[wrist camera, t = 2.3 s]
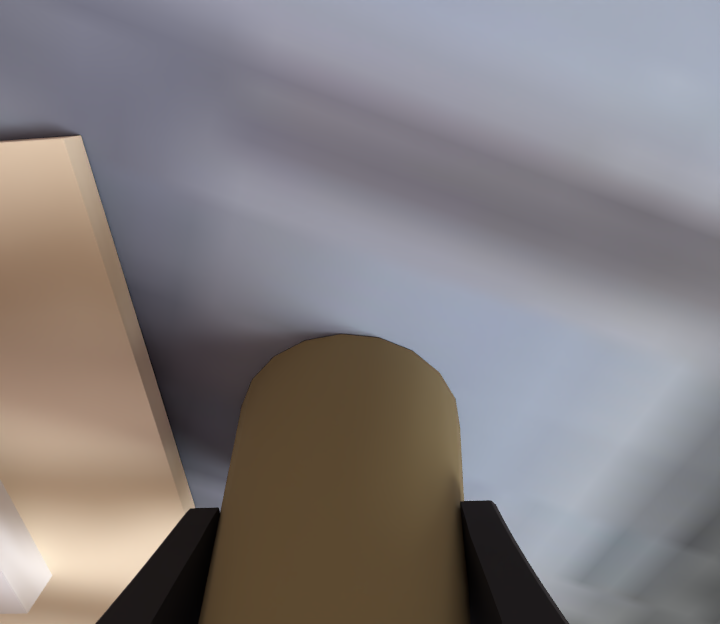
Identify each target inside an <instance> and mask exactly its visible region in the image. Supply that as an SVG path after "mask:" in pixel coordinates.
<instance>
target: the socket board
mask: <svg viewBox="0 0 720 624" xmlns="http://www.w3.org/2000/svg"><path fill="white" fill-rule="evenodd" d="M190 508H195V505H194V502H193V499H192V495H191V492H190V489H189V486H188V482H187V479H186V476H185V473H184V469H183V466H182V463H181V460H180V456H179V453H178V450H177V447H176V443H175V440H174V437H173V434H172V430H171V427H170V424H169V421H168V417H167V414H166V411H165V408H164V404H163V401H162V398H161V395H160V391H159V388H158V385H157V382H156V378H155V375H154V372H153V369H152V365H151V362H150V359H149V356H148V352H147V349H146V346H145V343H144V339H143V336H142V333H141V330H140V326H139V323H138V320H137V317H136V313H135V310H134V307H133V304H132V300H131V297H130V294H129V291H128V287H127V284H126V281H125V278H124V274H123V271H122V268H121V265H120V261H119V258H118V255H117V252H116V248H115V245H114V242H113V239H112V235H111V232H110V229H109V226H108V222H107V219H106V216H105V213H104V209H103V206H102V203H101V200H100V196H99V193H98V190H97V187H96V183H95V180H94V177H93V174H92V170H91V167H90V164H89V161H88V157H87V154H86V151H85V148H84V144H83V141H82V138H81V135H80V136H65V137H51V138H37V139H23V140H9V141H0V624H95V623H96V622H97V621H98V620H99V619H100V617H101V616H102V615H103V614H104V613H105V612H106V610H107V609H108V608H109V607H110V606H111V604H112V603H113V602H114V601H115V600H116V599H117V597H118V596H119V595H120V594H121V593H122V591H123V590H124V589H125V588H126V587H127V585H128V584H129V583H130V582H131V581H132V579H133V578H134V577H135V576H136V575H137V573H138V572H139V571H140V570H141V568H142V567H143V566H144V565H145V563H146V562H147V561H148V560H149V559H150V557H151V556H152V555H153V554H154V552H155V551H156V550H157V549H158V547H159V546H160V545H161V544H162V542H163V541H164V540H165V538H166V537H167V536H168V535H169V533H170V532H171V531H172V530H173V528H174V527H175V526H176V525H177V523H178V522H179V521H180V520H181V518H182V517H183V516H184V515H185V513H186V512H187V511H188V510H189V509H190Z"/></svg>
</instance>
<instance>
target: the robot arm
mask: <svg viewBox="0 0 720 624" xmlns="http://www.w3.org/2000/svg"><path fill="white" fill-rule="evenodd" d="M460 510H461V517H462V526H463V536H464V546H465V556H466V566H467V576H468V585H469V601H470V620H471V624H569V623H568V621H567V620H566V619H565V617H564V616H563V614H562V613H561V611H560V610H559V608H558V607H557V605H556V604H555V602H554V601H553V599H552V598H551V596H550V595H549V593H548V592H547V590H546V589H545V587H544V586H543V584H542V583H541V581H540V580H539V578H538V577H537V575H536V574H535V572H534V570H533V569H532V567H531V566H530V564H529V562H528V561H527V559H526V558H525V556H524V554H523V553H522V551H521V549H520V548H519V546H518V544H517V543H516V541H515V539H514V538H513V536H512V534H511V532H510V531H509V529H508V527H507V525H506V523H505V521H504V520H503V518H502V516H501V514H500V512H499V510H498V508H497V506H496V504H494V503H493V502H492V501H460ZM219 517H220V511H219V508H190V509H189V510H188V511H187V512H186V513H185V515H184V516H183V517H182V518H181V520H180V521H179V522H178V523H177V525H176V526H175V527H174V528H173V530H172V531H171V532H170V533H169V535H168V536H167V537H166V538H165V540H164V541H163V542H162V544H161V545H160V546H159V547H158V549H157V550H156V551H155V552H154V554H153V555H152V556H151V557H150V559H149V560H148V561H147V562H146V563H145V565H144V566H143V567H142V568H141V570H140V571H139V572H138V573H137V575H136V576H135V577H134V578H133V579H132V581H131V582H130V583H129V584H128V585H127V587H126V588H125V589H124V590H123V591H122V593H121V594H120V595H119V596H118V597H117V599H116V600H115V601H114V602H113V603H112V604H111V606H110V607H109V608H108V609H107V610H106V612H105V613H104V614H103V615H102V616H101V617H100V619H99V620H98V621H97V622H96V623H95V624H198V622H199V617H200V612H201V607H202V602H203V597H204V592H205V587H206V582H207V577H208V572H209V567H210V562H211V557H212V552H213V547H214V542H215V537H216V532H217V527H218V522H219Z"/></svg>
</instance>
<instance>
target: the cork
mask: <svg viewBox="0 0 720 624" xmlns="http://www.w3.org/2000/svg"><path fill="white" fill-rule="evenodd" d="M460 501H464V493H463V475H462V457H461V438H460V425H459V418H458V412H457V406H456V400H455V398H454V396H453V394H452V393H451V391H450V389H449V388H448V386H447V384H446V383H445V381H444V379H443V378H442V376H441V374H440V373H439V372H438V371H437V370H435V369H434V368H433V367H432V366H431V365H429V364H428V363H427V362H426V361H424V360H423V359H422V358H421V357H420V356H418V355H417V354H416V353H415V352H413V351H411V350H408V349H406V348H403V347H401V346H398V345H396V344H393V343H391V342H388V341H386V340H383V339H381V338H376V337H366V336H356V335H346V334H339V335H333V336H328V337H322V338H317V339H311V340H306V341H303V342H301V343H299V344H297V345H295V346H293V347H292V348H290V349H288V350H286V351H284V352H282V353H280V354H278V355H276V356H274V357H273V358H272V359H271V360H270V361H269V362H268V363H267V364H266V365H265V367H264V368H263V369H262V370H261V371H260V372H259V373H258V374H257V375H256V376H255V377H254V378H253V379H252V381H251V384H250V386H249V389H248V391H247V394H246V396H245V399H244V401H243V404H242V407H241V412H240V417H239V422H238V427H237V432H236V437H235V442H234V447H233V452H232V457H231V462H230V467H229V472H228V477H227V482H226V487H225V492H224V497H223V502H222V507H221V512H220V517H219V522H218V527H217V532H216V537H215V542H214V547H213V552H212V557H211V562H210V567H209V572H208V577H207V582H206V587H205V592H204V597H203V602H202V607H201V612H200V617H199V622H198V624H471V620H470V601H469V585H468V576H467V566H466V556H465V546H464V536H463V526H462V517H461V510H460Z"/></svg>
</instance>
